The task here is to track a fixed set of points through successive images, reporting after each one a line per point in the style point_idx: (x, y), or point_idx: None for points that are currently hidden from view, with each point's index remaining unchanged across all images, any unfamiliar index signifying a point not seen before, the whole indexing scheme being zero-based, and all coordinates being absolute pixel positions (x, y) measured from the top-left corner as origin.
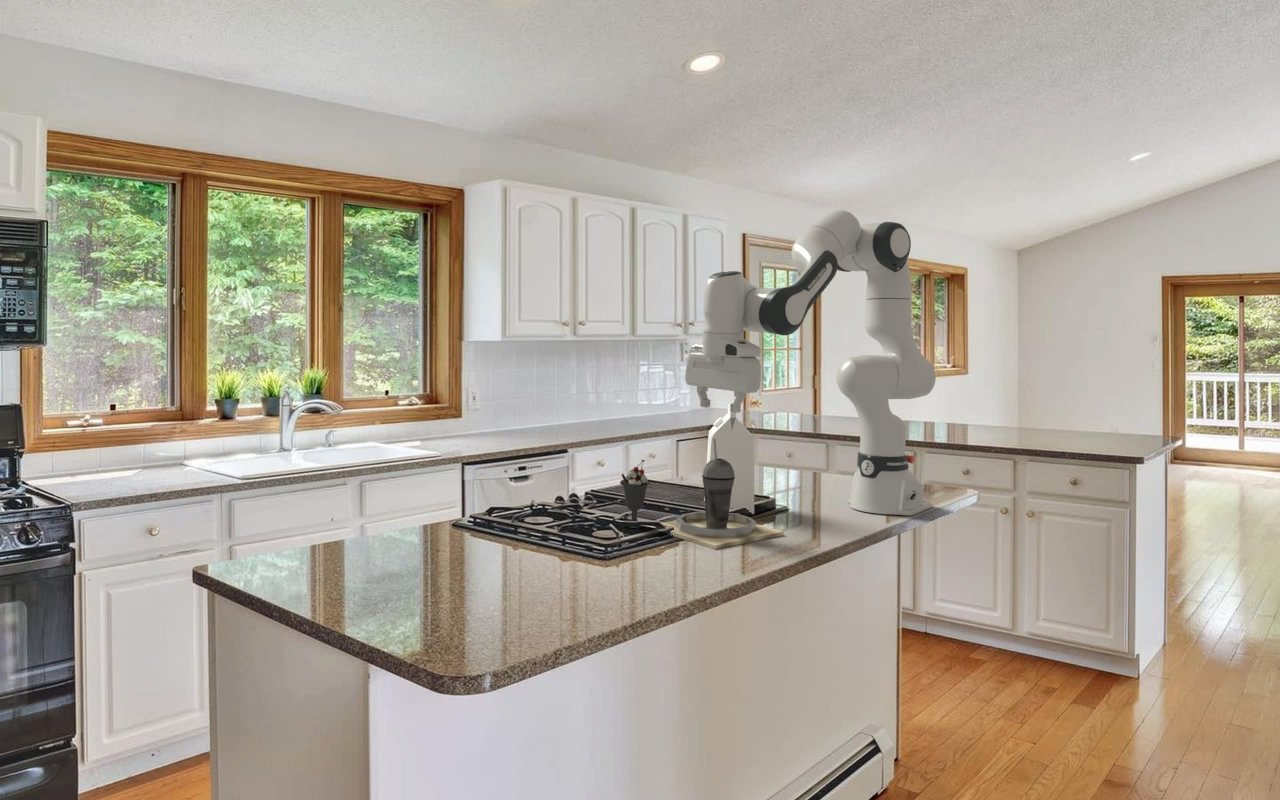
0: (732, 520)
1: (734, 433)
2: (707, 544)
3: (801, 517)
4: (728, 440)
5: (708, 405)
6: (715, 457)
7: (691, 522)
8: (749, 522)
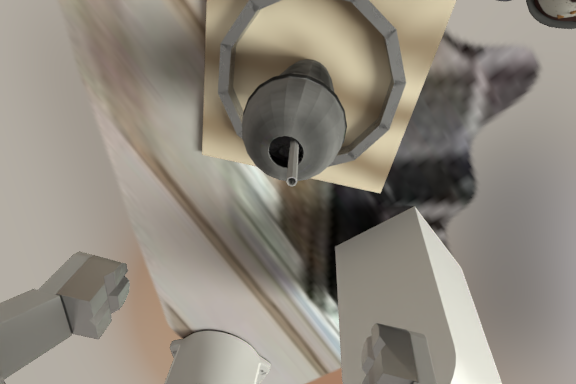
0: None
1: None
2: None
3: (263, 268)
4: None
5: (367, 353)
6: (293, 145)
7: (382, 87)
8: None
